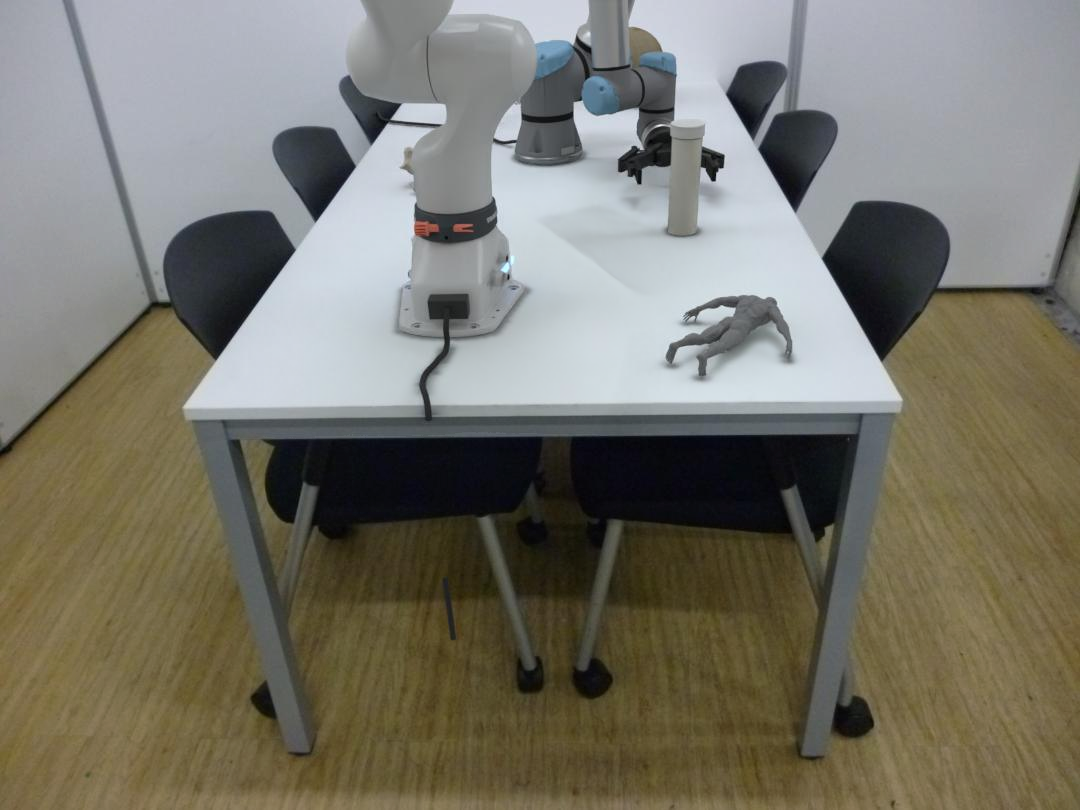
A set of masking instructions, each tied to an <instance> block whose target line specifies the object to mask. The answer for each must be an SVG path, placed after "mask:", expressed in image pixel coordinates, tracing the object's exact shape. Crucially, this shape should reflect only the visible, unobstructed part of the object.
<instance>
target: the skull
mask: <svg viewBox="0 0 1080 810" xmlns="http://www.w3.org/2000/svg"><path fill="white" fill-rule="evenodd" d="M629 47H630V51H631V55H632V56H631V57H630V60H631V61H632V68H637V67H639V63H640V57H641V56H642V55H643V54H645V53H649V52H664V50H663V48H662V46H661V43H660V42H659V41H658V39H657V37H655V36H654V35H653V34H652V33H651V32H649V31H647V30H646V29H643V28H640V27H637V26H629Z"/></svg>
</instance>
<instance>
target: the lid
mask: <svg viewBox="0 0 1080 810" xmlns="http://www.w3.org/2000/svg"><path fill="white" fill-rule="evenodd" d="M705 134H706V122H705V120H702V119H698V118H679V119H678V118H677V119H674V121H672V122H671V130H670V135H671V136H672V137H674V138H678V139H697V138H701V137H703V138H704V137H705Z"/></svg>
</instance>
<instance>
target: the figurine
mask: <svg viewBox="0 0 1080 810" xmlns="http://www.w3.org/2000/svg"><path fill="white" fill-rule="evenodd" d="M721 306H723V307H725V308H729V309H734V313H733V314H732V316H730V315H729V316H725V317H724V318H722V319H721V320H720V321H718V322H717V323H716V324H713V325H710V326H708V327H707V328H705V329H704V330H703V331H702V332H701V333H697V332H691V333H688V334H686V335H685V336H684V337H682V338H681V339H679V340H677V341H675V342H670V344H669V345H668V350H667V351H666V354H665V361H666V362H668V363H669V364H670V365H673V362H674V360H675V356H676V354H677V352H678V350H679V349H680V348H683V347H691V346H693V347H694V346H699V347H701V346H703V345H708V349H706V351H704V352H701V353H698V354H697V355H696V359H697V361H698V367H697V373H698V377H704V376H706V375H707V366H708V359H710V358H713V357H715V356H718V355H721V354H725V353H726V352H729V351H731V350H732V349H734V348H735V347H738V346H739V345H741V343H742V342H743V341H744V340H745V339H746V338H747V336H748V335H749V334H750V333H751V332H753V331H755V330H756V329H757V328H758V327H762V326H765V325H767V324H769V323H773V324H775V328H776V331H777V332H778V334H781V336H783V338H784V340H785V341H786V345H785V348H786V349H785V351H784V356H787V358H786V359H787V361H789V360H790V358H791V355H792V353H793V339H792V336H791V331H790V327H789V324H788V323H787V321H786V320H785V319H784V316H783V314H782V312H781V310H780V308H779V306H778V301H777V300H776V299H775V297H773V296H767V297H765V298H762V297H760V296H758V295H755V294H751V295H747V294H739V295H738V296H736V295H729V296H720V297H716V298H714V299H712V300H710V301H708V302H705V303H703V304H701V305H699V306H696V307H694V308H691V309H690V310H688V311H686V312H684V315H683V316H682V317H683V319H682V320H683V321H684V322H685V323H686V322H688V321H689V320H690V319H691V318H692V317H694V320H693V322H694V323H696V322H697V318H698V316H699V315H700V313H701V312H702V311H705V310H708V309H711V310H714V309H718V308H720V307H721Z"/></svg>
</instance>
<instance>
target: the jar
mask: <svg viewBox="0 0 1080 810" xmlns="http://www.w3.org/2000/svg"><path fill="white" fill-rule="evenodd" d="M703 140H704V136H703V137H701V138H697V139H678V138H674V137H672V145H671V166H669V167H670V168H669V170H670V171H669V191H668V210H667V211H668V213H667V215H668V216H667V232H668V234H671V235H673V236H678V237H688V236H692V235H694V234H696V233H697V231H698V215H699V201H700V184H701V171H702V169H701V156H702V146H703Z"/></svg>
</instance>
